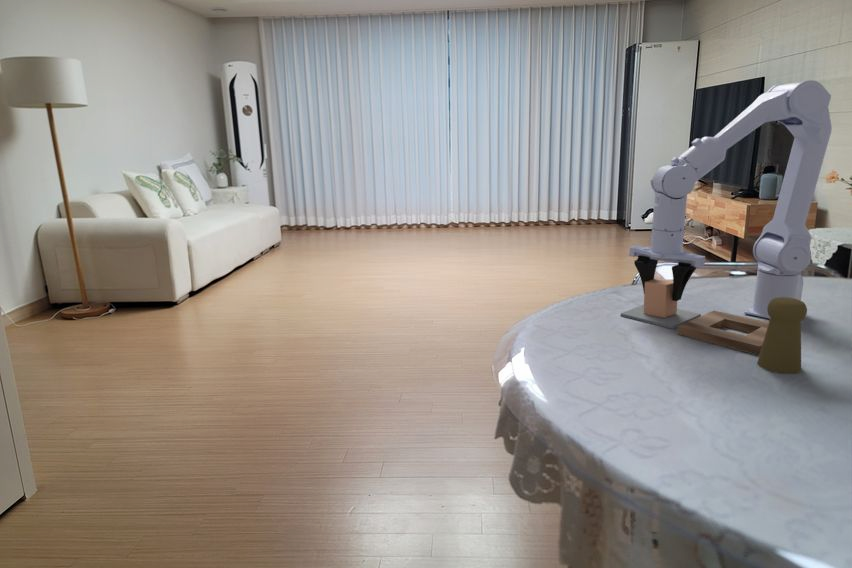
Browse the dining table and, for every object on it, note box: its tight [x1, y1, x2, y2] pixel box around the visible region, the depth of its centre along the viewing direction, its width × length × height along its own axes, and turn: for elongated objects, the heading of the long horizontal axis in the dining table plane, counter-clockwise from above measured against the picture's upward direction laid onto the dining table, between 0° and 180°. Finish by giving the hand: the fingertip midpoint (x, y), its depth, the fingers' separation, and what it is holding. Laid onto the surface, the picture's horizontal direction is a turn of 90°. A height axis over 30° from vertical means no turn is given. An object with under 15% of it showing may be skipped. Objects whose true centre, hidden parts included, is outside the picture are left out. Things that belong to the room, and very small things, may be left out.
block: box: [643, 277, 678, 318], centre depth 118 cm, size 4×4×6 cm
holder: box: [677, 310, 769, 356], centre depth 107 cm, size 14×14×2 cm
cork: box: [756, 297, 808, 375], centre depth 92 cm, size 6×6×11 cm
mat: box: [620, 304, 702, 330], centre depth 118 cm, size 11×11×1 cm
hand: (662, 296), depth 117 cm, fingers open, 5 cm apart
